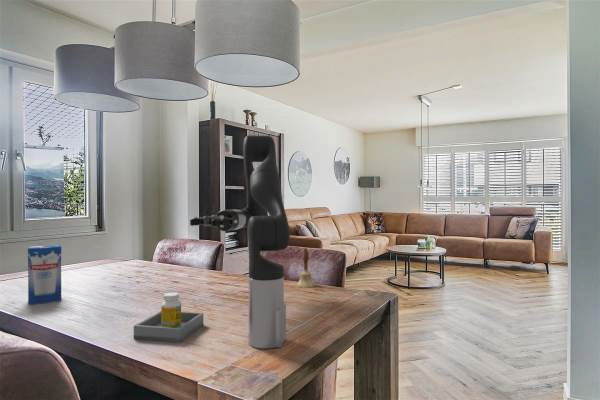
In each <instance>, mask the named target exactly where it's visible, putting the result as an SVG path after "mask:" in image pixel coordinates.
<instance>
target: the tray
mask: <svg viewBox="0 0 600 400" xmlns="http://www.w3.org/2000/svg"><path fill="white" fill-rule="evenodd" d="M202 326H204V312H190V311H188V312H187V311H181V327H179V328H171V327H161V310H160V311H159V312H157V313H155V314H153V315H151V316H149V317H147V318H146V319H144V320H142V321H140V322H138V323H136V324H135V325H133V340H145V341H156V342H167V343H181V342H182V341H183V342H184V340H185V339H187V338H188V337H189V336H191V335H192V334H193V333H195V332H196V331H198V329H200V328H201V327H202Z"/></svg>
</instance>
